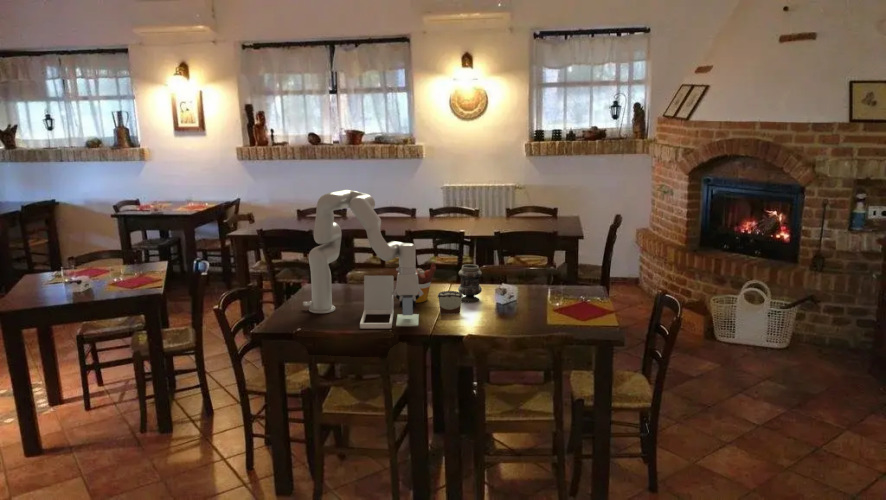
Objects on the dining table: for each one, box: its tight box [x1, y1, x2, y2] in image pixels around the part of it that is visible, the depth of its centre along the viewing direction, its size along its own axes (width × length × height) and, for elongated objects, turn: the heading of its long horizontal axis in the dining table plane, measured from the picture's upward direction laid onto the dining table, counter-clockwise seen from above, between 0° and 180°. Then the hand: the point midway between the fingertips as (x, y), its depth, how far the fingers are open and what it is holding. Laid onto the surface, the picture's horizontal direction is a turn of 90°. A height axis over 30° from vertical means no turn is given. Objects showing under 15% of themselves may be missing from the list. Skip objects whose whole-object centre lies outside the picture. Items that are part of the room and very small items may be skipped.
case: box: [359, 275, 395, 329], centre depth 316 cm, size 14×26×18 cm, turn 1°
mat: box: [395, 313, 420, 327], centre depth 316 cm, size 10×16×1 cm, turn 1°
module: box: [402, 295, 414, 315], centre depth 314 cm, size 4×9×8 cm, turn 1°
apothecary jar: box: [457, 264, 483, 304], centre depth 348 cm, size 12×12×18 cm
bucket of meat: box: [416, 262, 437, 304], centre depth 347 cm, size 20×16×20 cm
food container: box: [437, 290, 464, 315], centre depth 328 cm, size 12×6×10 cm, turn 92°
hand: (407, 308), depth 315 cm, fingers closed on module, 4 cm apart
